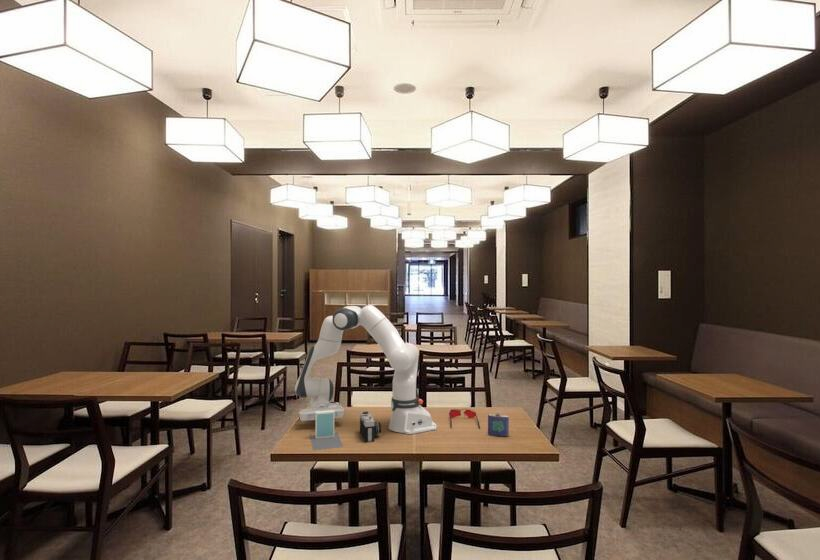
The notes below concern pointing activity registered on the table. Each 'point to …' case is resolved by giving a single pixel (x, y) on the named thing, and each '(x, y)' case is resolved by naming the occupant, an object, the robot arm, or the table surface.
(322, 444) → the mat
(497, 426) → the flask
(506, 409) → the table surface
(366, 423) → the camera
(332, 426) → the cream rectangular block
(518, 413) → the table surface
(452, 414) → the glasses
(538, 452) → the table surface
